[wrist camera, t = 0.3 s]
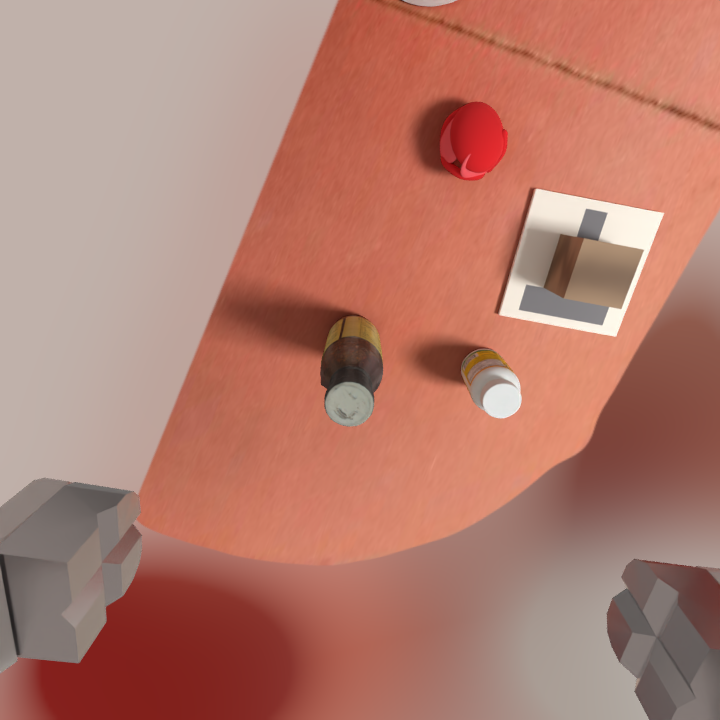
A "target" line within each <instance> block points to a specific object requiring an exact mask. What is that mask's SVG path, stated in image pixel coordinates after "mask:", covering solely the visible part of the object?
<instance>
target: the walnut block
mask: <svg viewBox="0 0 720 720" xmlns="http://www.w3.org/2000/svg"><path fill="white" fill-rule="evenodd" d="M643 252H644V250H643V249H638V248H632V247H627V246H622V245H617V244H611V243H606V242H601V241H596V240H590V239H585V238H580V237H574V236H569V235H563V234H560V238H559V241H558V244H557V247H556V250H555V253H554V256H553V259H552V263H551V266H550V269H549V272H548V275H547V278H546V281H545V284H544V288H545V289H547V290H549V291H551V292H553V293H554V294H556V295H558V296H560V297H562V298H564V299H569V300H575V301H580V302H585V303H591V304H596V305H601V306H607V307H612V308H617V309H622V306H623V303H624V301H625V298H626V296H627V293H628V291H629V288H630V285H631V283H632V280H633V278H634V275H635V272H636V270H637V267H638V265H639V262H640V259H641V257H642V254H643Z"/></svg>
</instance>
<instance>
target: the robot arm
mask: <svg viewBox="0 0 720 720" xmlns="http://www.w3.org/2000/svg"><path fill="white" fill-rule="evenodd" d="M403 1H405V2H407V3H410V4H414V5H419V6H439V5H444V4H448V3H451V2H454V1H456V0H403ZM140 513H141V511H140V500H139V495H137V494H136V493H135V492H134V491H128V490H121V489H115V488H109V487H103V486H96V485H90V484H84V483H77V482H74V483H72V482H68V481H61V480H55V479H48V478H42V479H38V480H34V481H32V482H31V483H30V484H29V485H27V486H26V487H25V488H24V489H22V490H21V491H20V492H19V493H17V494H16V495H15V496H14V497H13V498H11V499H10V500H9V501H7V502H6V503H5V504H4V505H2V506H1V507H0V673H1V672H3V671H4V670H5V669H7V668H8V667H10V666H11V665H12V664H14V663H15V662H17V657H22V658H32V659H42V660H53V661H62V662H73V663H79V662H80V661H81V659H82V658H83V656H84V655H85V653H86V652H87V650H88V648H89V647H90V646H91V644H92V642H93V641H94V640H95V638H96V636H97V635H98V633H99V632H100V630H101V629H102V627H103V626H104V624H105V622H106V608H105V607H106V606H107V605H109V604H110V603H112V602H114V601H115V600H117V599H119V598H120V597H122V596H123V595H124V593H125V592H126V590H127V588H128V587H129V585H130V584H131V582H132V580H133V578H134V575H135V573H136V570H137V567H138V565H139V562H140V556H141V549H142V535H141V533H140V532H139V531H138V530H137V529H136V527H135V526H134V525H133V522H134V521H135V520H136V518H137V517H138V516H139V514H140ZM622 580H623V582H624V584H625V587H626V589H625V590H624V591H622V592H620V593H619V594H618V595H616V596H615V597H613V598H612V601H611V604H610V606H609V609H608V612H607V632H608V636H609V639H610V643H611V646H612V648H613V650H614V652H615V654H616V656H617V658H618V660H619V662H620V663H621V664H622V665H623V666H624V667H625V668H626V669H628V670H629V671H630V672H631V673H632V674H633V675H634V676H635V677H636V678H637V680H636V686H635V693H636V695H637V697H638V699H639V701H640V703H641V705H642V706H643V708H644V710H645V712H646V714H647V716H648V718H649V720H720V569H719V568H709V567H701V566H696V567H693V566H686V565H678V564H670V563H662V562H655V561H647V560H639V559H634V560H632V561H631V562H630V563H629V564H628V565H627V566H626V568H625V570H624V572H623V575H622Z"/></svg>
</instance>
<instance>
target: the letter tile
mask: <svg viewBox="0 0 720 720" xmlns="http://www.w3.org/2000/svg"><path fill="white" fill-rule="evenodd" d="M663 214H664V213H660V212H655V211H650V210H645V209H639V208H634V207H629V206H624V205H619V204H613V203H608V202H603V201H598V200H593V199H587V198H582V197H577V196H572V195H567V194H561V193H556V192H551V191H546V190H541V189H534V192H533V195H532V199H531V202H530V206H529V209H528V212H527V216H526V219H525V223H524V226H523V230H522V233H521V237H520V240H519V243H518V247H517V250H516V254H515V257H514V261H513V264H512V267H511V271H510V274H509V278H508V281H507V285H506V288H505V292H504V295H503V298H502V302H501V305H500V309H499V312H498V314H499V315H502V316H507V317H513V318H518V319H523V320H529V321H534V322H540V323H545V324H550V325H556V326H561V327H566V328H572V329H577V330H583V331H588V332H593V333H599V334H604V335H609V336H615V337H616V335H617V333H618V330H619V327H620V325H621V322H622V320H623V317H624V315H625V312H626V309H627V307H628V304H629V302H630V299H631V297H632V294H633V291H634V289H635V286H636V284H637V281H638V279H639V276H640V273H641V271H642V268H643V266H644V263H645V261H646V258H647V255H648V253H649V250H650V248H651V245H652V243H653V240H654V238H655V235H656V232H657V230H658V227H659V225H660V222H661V220H662V217H663ZM560 234H563V235H569V236H574V237H580V238H585V239H590V240H596V241H601V242H606V243H611V244H617V245H622V246H627V247H632V248H638V249H643V250H644V252H643V254H642V257H641V259H640V262H639V265H638V267H637V270H636V272H635V275H634V278H633V280H632V283H631V285H630V288H629V291H628V293H627V296H626V298H625V301H624V303H623V306H622V309H617V308H612V307H607V306H601V305H596V304H591V303H585V302H580V301H575V300H569V299H564V298H562V297H560V296H558V295H556V294H554V293H553V292H551V291H549V290H547V289H545V288H544V284H545V281H546V278H547V275H548V272H549V269H550V266H551V263H552V259H553V256H554V253H555V250H556V247H557V244H558V241H559V238H560Z"/></svg>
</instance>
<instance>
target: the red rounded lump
mask: <svg viewBox="0 0 720 720" xmlns="http://www.w3.org/2000/svg"><path fill="white" fill-rule="evenodd" d="M507 135H508V133H507V131H506V130H505V129H503V126H502V123H501V120H500V118H499V116H498V114H497V113H496V112H495V110H494V109H493V108H492V107H490V106H489V105H487V104H485V103H483V102H471V103H468V104H466V105H464V106H462V107H460V108H458V109H457V110H455V111H454V112H453V113H451V114H450V115H449V116H448V117H447V119H446V120H445V122H444V124H443V126H442V130H441V135H440V153H441V163H442V165H443V166H444V168H445V169H446V170H447V171H449V172H450V173H451V174H452V175H454V176H456V177H457V178H460V179H463V180H479V179H481V178H482V177H483V176H484V175H485V173H486V172H490V171H492V169H493V168H494V167H495V166H496V165H497V164H498V163H499V161H500V160H501V159H502V157H503V156H504V154H505V152H506V149H507ZM456 159H457V160H458V161H459V162H460V164H461V165H462V166H461V168H459V167H458V166H456V165H455V164H454V163H452V162H454V161H455V160H456Z"/></svg>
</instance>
